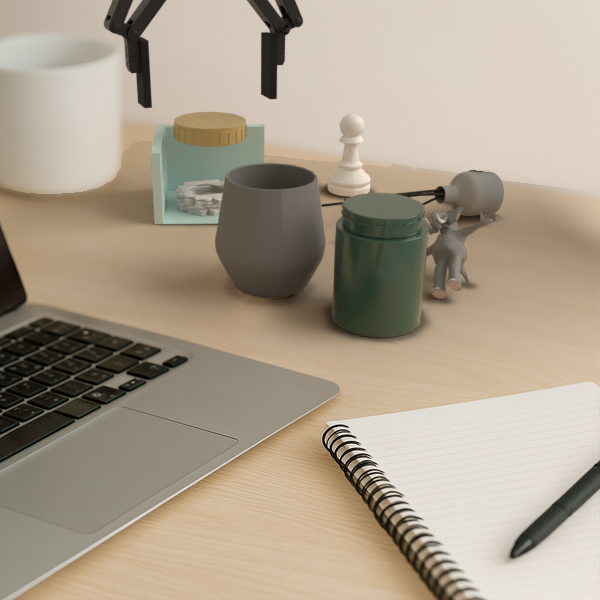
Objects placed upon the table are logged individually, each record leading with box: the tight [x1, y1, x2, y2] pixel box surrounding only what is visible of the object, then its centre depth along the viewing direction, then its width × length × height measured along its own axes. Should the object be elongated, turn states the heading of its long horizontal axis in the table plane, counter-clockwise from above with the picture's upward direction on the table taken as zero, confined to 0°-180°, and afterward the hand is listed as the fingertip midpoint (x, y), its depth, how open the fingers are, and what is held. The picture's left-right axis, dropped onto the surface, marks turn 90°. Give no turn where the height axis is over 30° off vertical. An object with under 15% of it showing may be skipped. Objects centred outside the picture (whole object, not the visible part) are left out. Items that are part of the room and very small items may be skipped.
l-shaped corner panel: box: [150, 123, 265, 225], centre depth 90 cm, size 12×12×8 cm
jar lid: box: [173, 111, 247, 147], centre depth 88 cm, size 8×8×2 cm
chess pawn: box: [327, 113, 372, 198], centre depth 95 cm, size 5×5×9 cm
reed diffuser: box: [321, 169, 505, 217], centre depth 86 cm, size 10×7×20 cm
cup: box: [214, 162, 327, 299], centre depth 70 cm, size 10×9×10 cm
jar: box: [331, 192, 430, 339], centre depth 65 cm, size 7×7×10 cm
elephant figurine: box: [423, 207, 498, 300], centre depth 73 cm, size 10×6×9 cm
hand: (208, 101), depth 87 cm, fingers open, 13 cm apart
